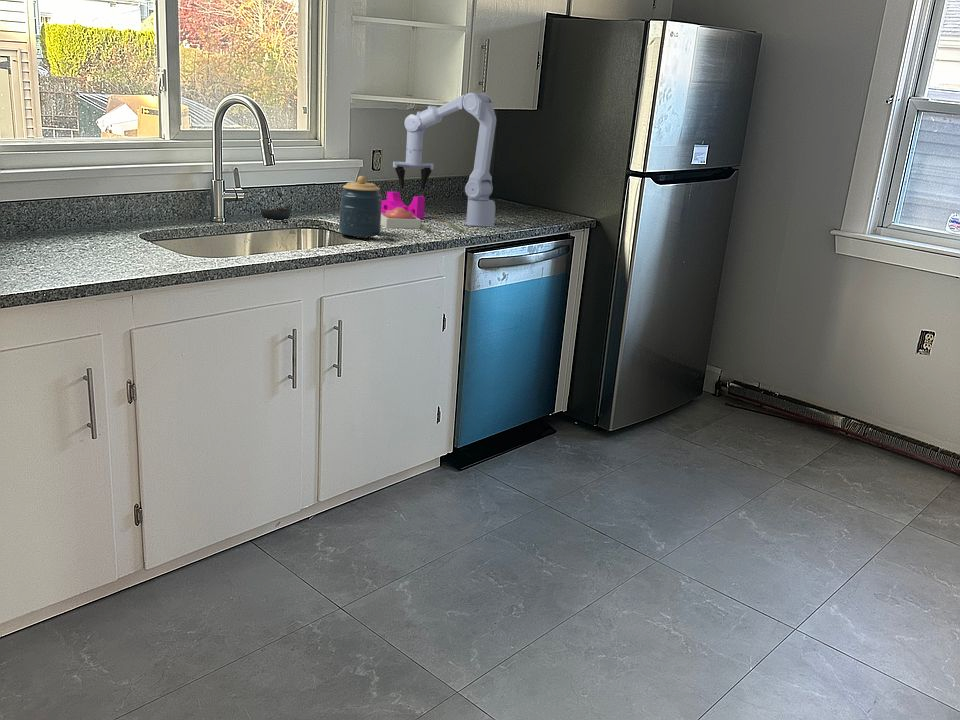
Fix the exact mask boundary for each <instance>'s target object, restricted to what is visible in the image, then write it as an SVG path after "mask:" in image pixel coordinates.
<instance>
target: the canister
mask: <svg viewBox="0 0 960 720" xmlns="http://www.w3.org/2000/svg"><path fill="white" fill-rule="evenodd" d="M342 188H343V191H342V192H340V193H339V196H340V197H341V198H340V199H341V201H340V204H339V221H338V222H339V224H338V231H339V233H340V234H342V235H345V236H352V237H353V236H354V237H376V236H380V235H381V230H382V229H381V228H382V225H381V214H382V213H381V209H382V207H381V205H382V204H381V201H382V199H383V195H381V194H380V192H379V191H380V190H381V188H380V187H379V186H377V184H375V183H371V182H367V178H366V177H365V176H364V175H359V176H358V177H357V181H350V182H349V181H348V182H346V184H344V185H343V186H342Z"/></svg>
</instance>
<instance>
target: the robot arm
mask: <svg viewBox="0 0 960 720" xmlns="http://www.w3.org/2000/svg"><path fill="white" fill-rule="evenodd" d="M461 110H465V111H466V112H467V113H469V114H470V115H472V116H473V117H474V118H475V119H476V120H477V121H478V123H479V126H478V127H479V128H478V135H477V142H476V147H475V148H476V149H475V155H474V156H475V157H474V165H473V169H472V172H471V173H470V175H469V177H468V181H467V183H466V184H465V187H464V191H465V195H466V196H467V207H466V209H467V210H466V218H465V219H466V220H464V221H463V220H462V224H465V225H467V226H468V227H495V226H496V225H495V219H496V202H495V200H493V199H490V196H492V193H493V189H494V187H493V182H492V180H493V176H492V175H491V172H490V168H491V161H492V160H491V159H492V154H493V146H494V141H495V133H496V132H495V131H496V126H497V116H496V112H495V109H494V101H493V100H492V98H491V97H490V96H489V95H488V94H486V93H474V92H468V93H466V94H462V95H460V96H459V97H457V98H454V99H452V100H451V101H449V102H447V103H444V104H443V105H441V106H439V107H438V106H437V105H428V106H427V108H426V109H424V110H421V111H420V110H419V111H417V112H416V114H411V113H410V114H409V115H407V116H406V117H405V119H404V122H403V123H404V128H405V129H406V146H405V147H406V148H405V149H406V150H405V161H393V162H392V167H393V168H394V170H395V172H396V175H397V178H398V181H399V186H400V187H399V188H400V189H402V190H404V187H405V175H406V170H405V169H420V174H421V175H420V176H421V177H420V178H421V179H420V190H425V188H426V183H427V181H428V179H429V178H430V175H431V174H432V170H434V167H435V166H434V165H435V163H433V162H431V163H429V162H422V161H423V147H424V146H423V144H424V143H423V142H424V133H425V131H426V129H427V128H430V127H432V126H434V125H436V124H438V123H440V122H442V120H443V117H445V116H448V115H450V114H453V113H455V112H459V111H461Z"/></svg>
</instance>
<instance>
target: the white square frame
mask: <svg viewBox="0 0 960 720" xmlns="http://www.w3.org/2000/svg"><path fill="white" fill-rule="evenodd" d="M421 220H422V218H417V217H415V216H413V219H390V218H387V217H386V214H384V213H381V226H382V227H384V228H386V229H415V230H418V229H421V228H420V227H421V224H422V221H421Z"/></svg>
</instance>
